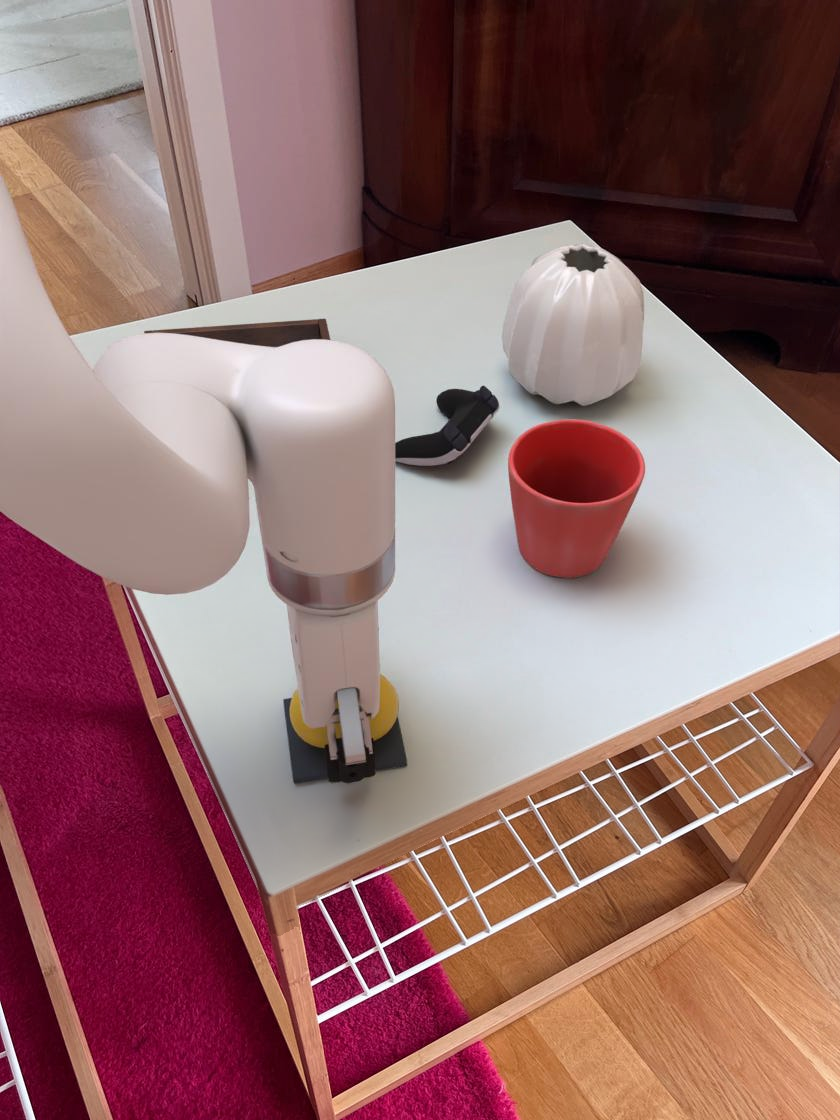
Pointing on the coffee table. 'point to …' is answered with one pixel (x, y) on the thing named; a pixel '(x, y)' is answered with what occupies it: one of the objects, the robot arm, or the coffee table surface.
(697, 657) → the coffee table surface
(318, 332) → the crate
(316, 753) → the mat
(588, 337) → the vase
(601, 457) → the flower pot
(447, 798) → the coffee table surface
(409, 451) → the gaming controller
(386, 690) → the yellow grooved capsule
